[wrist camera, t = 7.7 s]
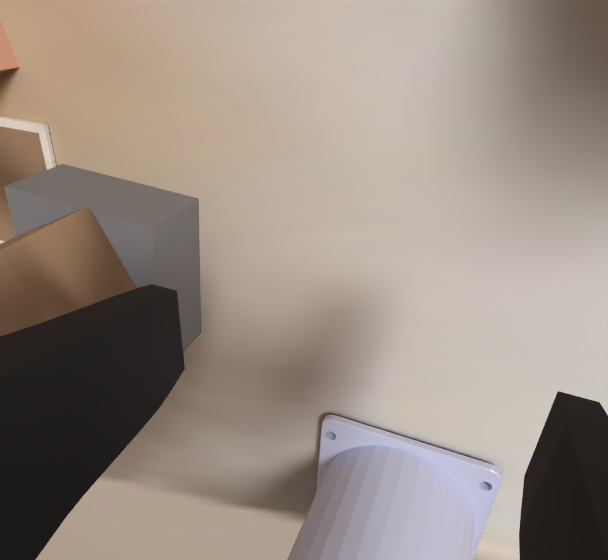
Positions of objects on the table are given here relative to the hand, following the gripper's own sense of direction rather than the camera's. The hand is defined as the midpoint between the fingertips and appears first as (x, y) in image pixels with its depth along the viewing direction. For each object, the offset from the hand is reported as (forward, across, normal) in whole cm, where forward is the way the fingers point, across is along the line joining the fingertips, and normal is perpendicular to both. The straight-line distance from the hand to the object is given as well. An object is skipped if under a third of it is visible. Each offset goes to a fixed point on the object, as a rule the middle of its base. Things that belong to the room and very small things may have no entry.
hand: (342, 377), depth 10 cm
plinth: (+10, +13, +5) cm, 17 cm away
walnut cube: (+7, +13, +5) cm, 15 cm away
